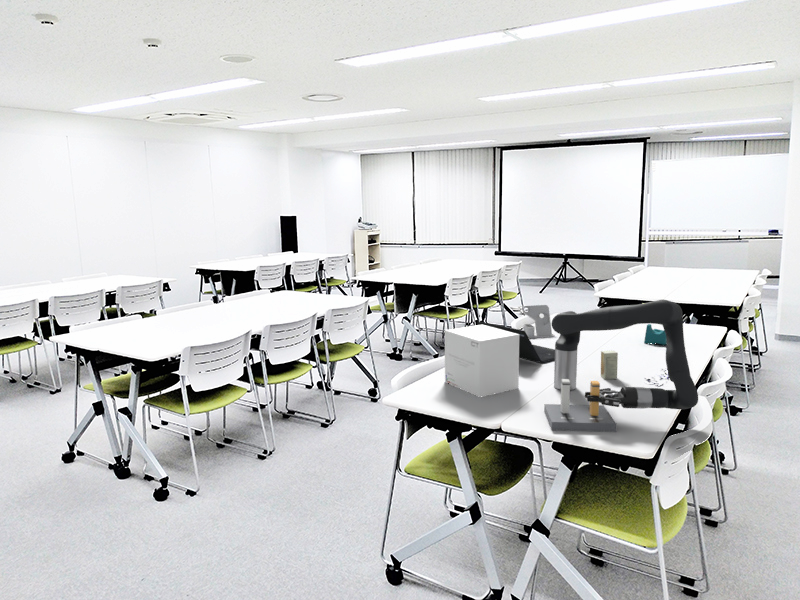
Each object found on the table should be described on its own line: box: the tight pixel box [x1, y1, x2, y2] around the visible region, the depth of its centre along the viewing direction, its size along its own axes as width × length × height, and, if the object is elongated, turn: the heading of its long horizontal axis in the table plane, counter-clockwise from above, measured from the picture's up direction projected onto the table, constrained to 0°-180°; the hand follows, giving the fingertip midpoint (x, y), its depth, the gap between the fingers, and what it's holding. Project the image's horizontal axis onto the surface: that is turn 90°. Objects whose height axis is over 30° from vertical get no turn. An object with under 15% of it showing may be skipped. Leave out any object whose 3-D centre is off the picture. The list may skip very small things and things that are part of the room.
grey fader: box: [560, 379, 571, 413], centre depth 204 cm, size 3×3×12 cm
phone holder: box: [522, 304, 555, 339], centre depth 337 cm, size 17×10×18 cm, turn 99°
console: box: [543, 403, 617, 433], centre depth 204 cm, size 18×22×3 cm
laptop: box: [476, 320, 555, 364], centre depth 293 cm, size 33×38×19 cm
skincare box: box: [600, 350, 619, 380], centre depth 254 cm, size 6×4×12 cm
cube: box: [444, 324, 520, 398], centre depth 246 cm, size 25×21×24 cm
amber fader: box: [589, 380, 601, 416], centre depth 201 cm, size 3×3×12 cm
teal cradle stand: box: [643, 323, 667, 346], centre depth 317 cm, size 18×11×10 cm, turn 141°
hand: (586, 396), depth 201 cm, fingers closed on amber fader, 3 cm apart
